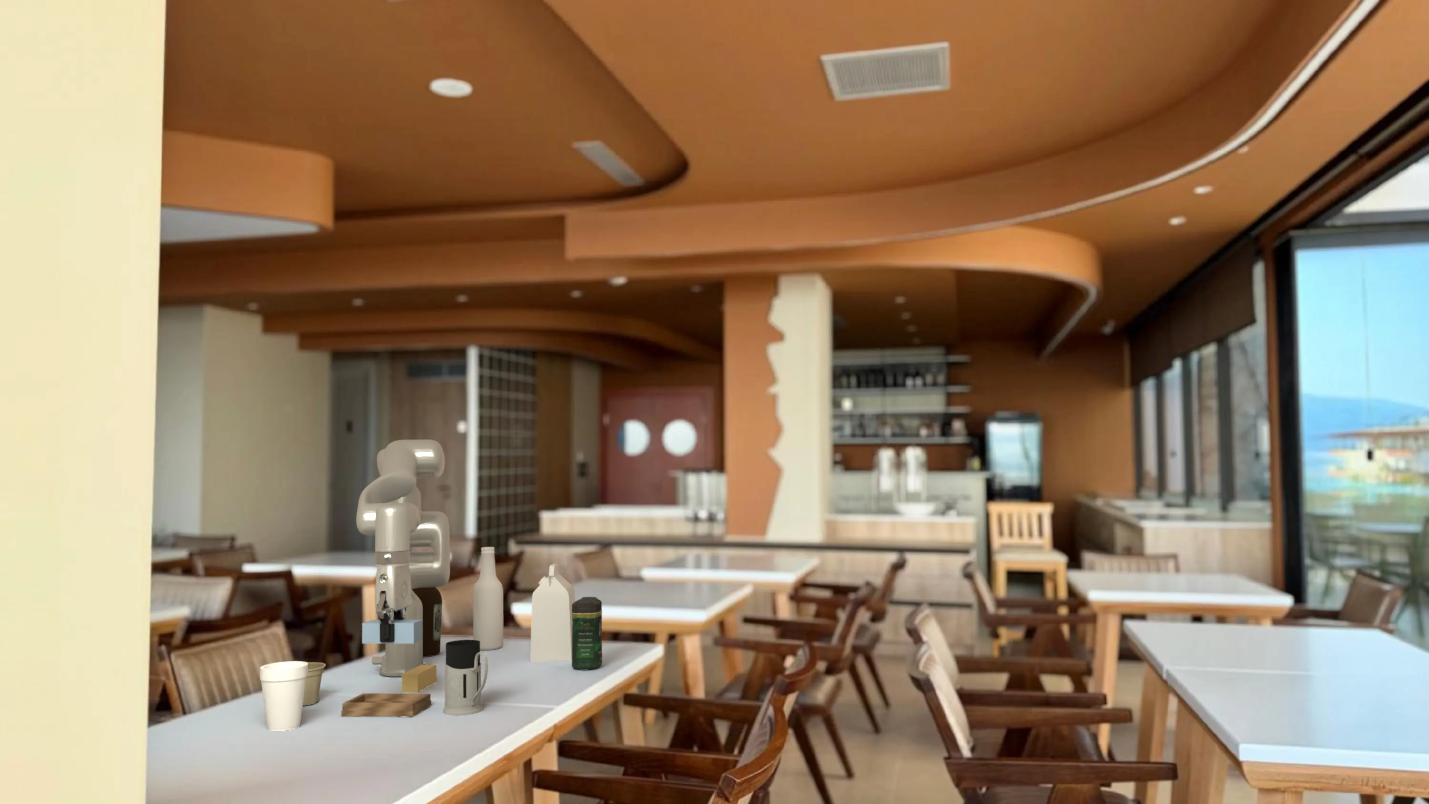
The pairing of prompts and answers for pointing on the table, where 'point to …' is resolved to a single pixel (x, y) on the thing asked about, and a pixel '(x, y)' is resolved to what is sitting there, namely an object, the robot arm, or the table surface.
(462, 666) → the glass holder
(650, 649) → the table surface
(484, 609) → the alcohol
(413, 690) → the mustard wooden brick
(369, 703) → the cradle
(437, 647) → the olive oil
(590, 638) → the coffee jar
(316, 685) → the flower pot
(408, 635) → the pale grey-blue block
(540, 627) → the milk
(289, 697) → the foam cup
